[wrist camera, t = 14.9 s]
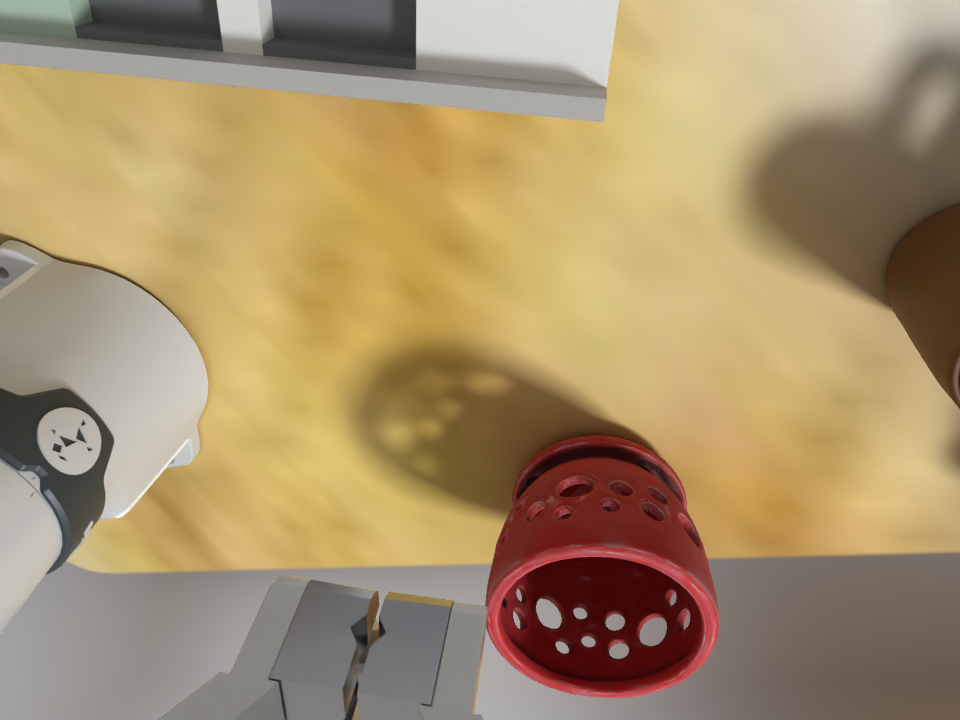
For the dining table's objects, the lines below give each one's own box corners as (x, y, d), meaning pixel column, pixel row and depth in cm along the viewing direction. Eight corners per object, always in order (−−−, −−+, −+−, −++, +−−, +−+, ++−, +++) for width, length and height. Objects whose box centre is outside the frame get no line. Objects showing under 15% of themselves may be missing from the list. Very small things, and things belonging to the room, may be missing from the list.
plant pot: (714, 536, 52) (739, 694, 42) (536, 559, 56) (522, 708, 46) (676, 392, 46) (696, 539, 36) (479, 429, 50) (448, 571, 40)
